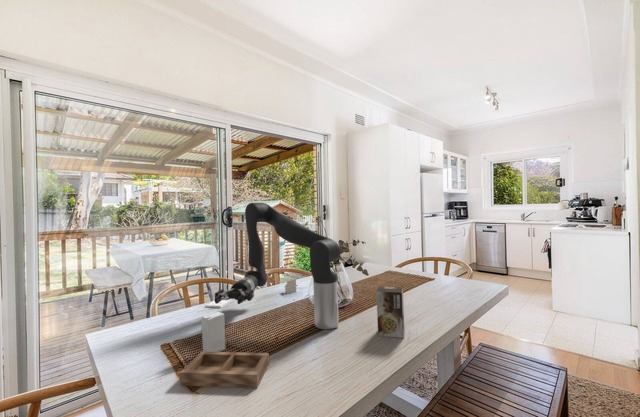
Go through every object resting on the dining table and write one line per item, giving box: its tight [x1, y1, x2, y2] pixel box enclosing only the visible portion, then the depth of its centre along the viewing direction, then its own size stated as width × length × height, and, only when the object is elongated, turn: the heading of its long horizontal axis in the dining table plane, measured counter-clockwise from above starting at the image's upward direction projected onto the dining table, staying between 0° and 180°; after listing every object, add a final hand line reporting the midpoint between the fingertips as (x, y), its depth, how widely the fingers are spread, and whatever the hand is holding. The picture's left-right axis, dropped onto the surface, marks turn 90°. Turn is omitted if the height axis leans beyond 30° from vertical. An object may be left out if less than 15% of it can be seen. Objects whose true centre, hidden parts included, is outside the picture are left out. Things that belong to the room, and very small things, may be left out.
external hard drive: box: [204, 297, 234, 309], centre depth 149 cm, size 2×8×12 cm
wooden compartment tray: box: [179, 351, 270, 389], centre depth 85 cm, size 21×12×4 cm, turn 84°
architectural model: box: [284, 278, 299, 295], centre depth 165 cm, size 3×7×7 cm, turn 126°
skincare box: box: [201, 311, 227, 352], centre depth 99 cm, size 6×4×12 cm
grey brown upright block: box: [375, 285, 406, 339], centre depth 108 cm, size 9×6×16 cm
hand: (227, 301), depth 111 cm, fingers open, 8 cm apart
